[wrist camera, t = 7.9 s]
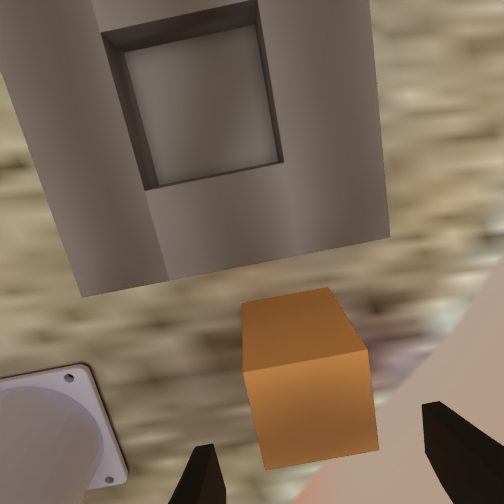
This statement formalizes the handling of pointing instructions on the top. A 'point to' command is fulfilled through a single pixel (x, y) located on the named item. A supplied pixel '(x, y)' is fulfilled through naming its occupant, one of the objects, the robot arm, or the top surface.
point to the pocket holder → (197, 130)
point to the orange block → (306, 379)
